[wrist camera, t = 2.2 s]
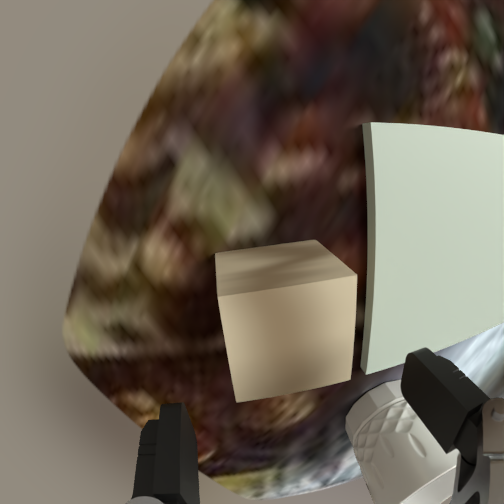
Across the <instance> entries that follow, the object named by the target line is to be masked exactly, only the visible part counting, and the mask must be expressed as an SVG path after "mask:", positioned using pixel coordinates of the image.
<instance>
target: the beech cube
mask: <svg viewBox="0 0 504 504" xmlns="http://www.w3.org/2000/svg"><path fill="white" fill-rule="evenodd" d="M215 262H216V280H217V296H218V303H219V309H220V315H221V321H222V327H223V333H224V338H225V344H226V350H227V355H228V361H229V366H230V372H231V377H232V382H233V388H234V393H235V398H236V402H243V401H250V400H256V399H262V398H268V397H274V396H280V395H285V394H290V393H295V392H300V391H305V390H310V389H314V388H319V387H323V386H327V385H331V384H335V383H339V382H343V381H347V380H350V379H351V370H352V359H353V347H354V333H355V317H356V296H357V274H356V273H354V272H353V271H352V270H351V269H350V268H349V267H347V266H346V265H345V264H344V263H343V262H341V261H340V260H339V259H338V258H337V257H336V256H334V255H333V254H332V253H331V252H330V251H328V250H327V249H326V248H325V247H324V246H322V245H321V244H320V243H319V242H318V241H316V240H309V241H301V242H294V243H286V244H279V245H271V246H264V247H257V248H249V249H242V250H234V251H227V252H220V253H215Z"/></svg>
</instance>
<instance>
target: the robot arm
mask: <svg viewBox="0 0 504 504" xmlns="http://www.w3.org/2000/svg"><path fill="white" fill-rule="evenodd" d="M400 388H401V393H402V395H403V397H404V399H405V400H406V401H407V403H408V404H409V405H410V407H411V408H412V409H413V410H414V412H415V413H416V414H417V416H418V417H419V418H420V420H421V421H422V422H423V424H424V425H425V426H426V428H427V429H428V430H429V432H430V433H431V434H432V435H433V437H434V438H435V439H436V441H437V442H438V444H439V445H440V446H441V448H442V449H443V450H444V452H445V453H446V454H448V453H450V452H451V451H453V450H455V449H458V451H459V453H458V456H457V464H456V473H455V481H454V488H453V494H452V498H451V501H450V503H449V504H504V399H503V398H493V399H490V398H489V397H488V396H487V395H486V394H485V393H484V392H483V391H482V390H481V389H479V388H478V387H477V386H476V385H475V384H474V383H473V382H472V381H471V380H470V379H469V378H468V377H466V376H465V374H464V373H463V372H462V371H461V370H460V371H459V368H458V367H457V366H456V365H454V364H453V363H452V362H451V361H450V360H448V359H446V358H443V357H441V356H436V355H435V354H434V353H433V352H432V351H431V350H430V349H428V348H426V347H424V348H421V349H419V350H416V351H413V352H410V353H408V354H407V356H406V359H405V364H404V369H403V374H402V379H401V384H400ZM139 445H140V446H139V449H138V457H137V464H136V472H135V481H134V490H133V495H132V498H131V500H130V501H128V502H127V503H126V504H200V498H199V479H198V455H197V441H196V435H195V431H194V428H193V426H192V423H191V420H190V418H189V415H188V412H187V409H186V407H185V404H184V403H183V402H182V403H171V404H162V405H161V407H160V415H159V419H158V420H148V422H147V423H146V425H145V426H144V428H143V429H142V431H141V436H140V442H139Z"/></svg>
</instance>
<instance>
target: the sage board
mask: <svg viewBox="0 0 504 504" xmlns="http://www.w3.org/2000/svg"><path fill="white" fill-rule="evenodd" d="M362 127H363V138H364V151H365V166H366V185H367V222H368V250H367V287H366V306H365V322H364V334H363V346H362V356H361V365H360V367H361V368H362V370H363V371H364V373H365V374H366V375H367V374H370V373H373V372H377V371H380V370H383V369H387V368H390V367H393V366H396V365H399V364H402V363H405V359H406V356H407V354H408V353H410V352H413V351H416V350H419V349H421V348H424V347H426V348H428V349H430V350H431V351H432V352H436V351H439V350H441V349H444V348H446V347H449V346H451V345H454V344H456V343H459V342H461V341H464V340H466V339H468V338H471V337H473V336H475V335H478V334H480V333H482V332H484V331H486V330H489V329H491V328H493V327H495V326H497V325H499V324H501V323H503V322H504V135H500V134H494V133H487V132H481V131H473V130H466V129H458V128H449V127H439V126H428V125H415V124H398V123H371V122H370V123H364V124H362Z"/></svg>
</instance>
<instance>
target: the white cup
mask: <svg viewBox="0 0 504 504" xmlns="http://www.w3.org/2000/svg"><path fill="white" fill-rule="evenodd" d="M400 384H401V380H396V381H391V382H386V383H383V384H381V385H379V386H377V387H375V388H374V389H372V390H370V391H368V392H367V393H366V394H365V395H363V396H362V397H361V398H360V399H359V400H358V401H357V402H356V403H354V405H353V406H352V408H351V409H350V411H349V413H348V414H347V416H346V422H345V429H346V432H347V434H348V436H349V439H350V441H351V443H352V446H353V448H354V453H355V456H356V459H357V461H358V463H359V465H360V469H361V472H362V475H363V477H364V480H365V482H366V485H367V487H368V490H369V492H370V495H371V497H372V500H373V502H374V504H440V503H442V502H443V501H445V500H446V499H447V498H449V497H450V496H451V495H452V494H453V488H454V481H455V473H456V464H457V456H458V453H459V451H458V449H455V450H453V451H451V452H450V453H448V454H446V453H445V452H444V450H443V449H442V448H441V446H440V445H439V444H438V442H437V441H436V439H435V438H434V437H433V435H432V434H431V433H430V432H429V430H428V429H427V428H426V426H425V425H424V424H423V422H422V421H421V420H420V418H419V417H418V416H417V414H416V413H415V412H414V410H413V409H412V408H411V407H410V405H409V404H408V403H407V401H406V400H405V399H404V397H403V395H402V393H401V388H400Z"/></svg>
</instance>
